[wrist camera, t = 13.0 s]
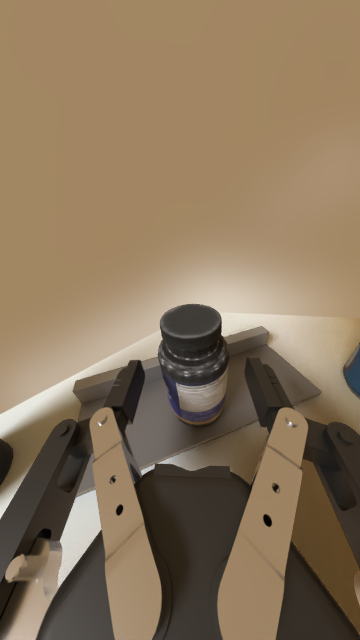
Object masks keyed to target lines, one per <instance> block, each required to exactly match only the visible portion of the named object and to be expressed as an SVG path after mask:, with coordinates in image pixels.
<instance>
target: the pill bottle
mask: <svg viewBox="0 0 360 640" xmlns="http://www.w3.org/2000/svg"><path fill="white" fill-rule="evenodd" d="M221 324H222V320H221V316H220V314H219V313H218V312H217V311H216V310H215V309H213V308H211V307H209V306H205V305H200V304H187V305H181V306H177V307H175V308H173V309H171V310H169V311H167V312H166V313H165V314H164V315H163V316H162V318H161V320H160V329H161V334H162V338H163V340H162V341H161V343H160V346H159V349H158V360H159V363H160V367H161V371H162V375H163V379H164V383H165V387H166V391H167V395H168V399H169V403H170V407H171V409H172V411H173V413H174V414H175V415H176V417H177V418H178V419H179V421H181V422H182V423H184V424H185V425H188V426H191V427H204V426H208V425H210V424H212V423H214V422H215V421H216V420H217V419H218V418H219V417H220V415H221V414H222V412H223V409H224V404H225V395H226V384H227V372H228V361H229V348H228V344H227V342H226V340H225V339H224V337H223V336H222V335H221V328H222V326H221Z"/></svg>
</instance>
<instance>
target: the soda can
mask: <svg viewBox="0 0 360 640" xmlns="http://www.w3.org/2000/svg"><path fill="white" fill-rule="evenodd" d="M343 371H344V376H345V379H346V382H347V384H348V387H349V388H350V390H351V391H352V392H353V393H354V394H355V395H356V396H357V397H358V398H359V399H360V343H359V345H358V346H357V348H356V349H355V351H354V352H353V354H352V355H351V357H350V358H349V360H348V361H347V363H346V364H345V366H344V369H343Z"/></svg>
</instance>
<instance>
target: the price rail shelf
mask: <svg viewBox="0 0 360 640" xmlns="http://www.w3.org/2000/svg"><path fill="white" fill-rule="evenodd" d="M268 334H269V331H268V330H266V329H265V328H264V327H262V326H261V327H257V328H254V329H250V330H247V331H244V332H240V333H237V334H233V335H230V336H227V337H224V339H225V340H226V342H227V344H228V348H229V361H228V372H227V384H226V395H225V404H224V409H223V412H222V414H221V415H220V417H219V418H218V419H217V420H216V421H215V422H214V423H212V424H210V425H208V426H204V427H191V426H188V425H185V424H184V423H182V422H181V421H179V419H178V418H177V417H176V415H175V414H174V413H173V411H172V409H171V407H170V403H169V399H168V395H167V391H166V387H165V383H164V379H163V375H162V371H161V367H160V363H159V360H158V357H155V358H152V359H149V360H145V361H142V362H141V363H142V366H143V369H144V372H145V381H144V385H143V389H142V392H141V396H140V399H139V403H138V407H137V410H136V414H135V417H134V421H133V425H127V427H126V430H125V431H126V434H127V437H128V440H129V443H130V446H131V449H132V452H133V455H134V457H135V460H136V462H137V464H138V466H139V469H140V470H142V469H144V468H147V467H149V466H151V465H154V464H156V463H159V462H161V461H163V460H166V459H168V458H170V457H173V456H175V455H177V454H180V453H182V452H185V451H187V450H189V449H192V448H194V447H196V446H199V445H201V444H204V443H206V442H208V441H211V440H213V439H215V438H218V437H220V436H222V435H225V434H227V433H230V432H232V431H234V430H237V429H239V428H241V427H244V426H246V425H248V424H251V423H253V422H256V421H258V420H259V419H258V416H257V413H256V410H255V407H254V404H253V401H252V398H251V395H250V392H249V389H248V385H247V382H246V379H245V374H244V371H245V365H246V359H247V357H259V358H260V360H261V362H262V364H268V365H269V366H270V367H271V368H272V369H273V370H274V372H275V374H276V376H277V378H278V380H279V382H280V384H281V385H282V387H283V389H284V391H285V393H286V395H287V397H288V399H289V401H290V402H291V404H292V406H293V405H296V404H298V403H301V402H303V401H305V400H308V399H310V398H312V397H315V396H317V395H319V394H320V393H321V391H320V390H319V389H318V388H317V387H315V386H314V385H313V384H312V383H311V382H310V381H308V380H307V379H306V378H305V377H304V376H303V375H301V374H300V373H299V372H298V371H297V370H296V369H294V368H293V367H292V366H291V365H290V364H289V363H287V362H286V361H285V360H284V359H283V358H281V357H280V356H279V355H278V354H277V353H276V352H274V351H273V350H272V349H271V348H270V347H269V346H267V345H266V343H267V338H268ZM125 367H127V366H125ZM125 367H121V368H118V369H115V370H111V371H108V372H104V373H101V374H98V375H94V376H91V377H87V378H84V379H81V380H77V381H76V382H75V386H74V389H73V393H74V394H75V395H76V397H77V398H78V399H79V400H80V402H81V403H82V406H81V410H80V415H79V419H78V422H79V421H82V420H85V419H88V418H91V417H92V416H93V415H94V414H95V413H96V412H97V411H98V410H100V409H102V408H103V406H104V404H105V401H106V399H107V397H108V395H109V393H110V390H111V388H112V386H113V384H114V382H115V380H116V377H117V375H118V373H119V372H120V371H121V370H122V369H123V368H125ZM94 460H95V455H94V453H93V454H91V457H90V459H89V462H88V465H87V468H86V470H85V473H84V476H83V478H82V481H81V484H80V487H79V489H78V492H77V495H76V497H78V496H80V495H83V494H85V493H88V492H90V491H92V490H95V489H96V488H95V481H94V474H93V466H92V465H93V461H94ZM76 497H75V498H76Z"/></svg>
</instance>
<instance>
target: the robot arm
mask: <svg viewBox="0 0 360 640" xmlns="http://www.w3.org/2000/svg"><path fill="white" fill-rule="evenodd" d="M244 374H245V379H246V382H247V385H248V389H249V392H250V395H251V398H252V401H253V404H254V407H255V410H256V413H257V416H258V419H259V422H260V425H261V427H267V429H268V432H269V434H268V437H267V440H266V443H265V446H264V448H263V451H262V454H261V457H260V460H259V462H258V465H257V468H256V470H255V473H254V476H253V479H252V481H251V484H250V485H249V484H248V483H247V482H246V481H245V480H244V479H242V478H241V477H240V476H238V475H236V474H235V473H232V472H230V467H229V466H208V467H205V468H202V469H199V470H196V471H188V470H186V469H183V468H181V467H178V466H176V465H173V464H155V468H154V469H153V470H151V471H149V472H147V473H145V474H144V475H143V476H142V474H141V471H140V469H139V466H138V464H137V462H136V460H135V457H134V455H133V452H132V449H131V446H130V443H129V440H128V437H127V434H126V431H125V430H126V427H127V425H133V421H134V417H135V414H136V410H137V407H138V403H139V399H140V396H141V392H142V389H143V385H144V381H145V372H144V369H143V366H142V363H141V361H140V360H130V361H129V363H128V366H127V367H125V368H123V369H122V370H121V371H120V372H119V373H118V375H117V377H116V380H115V382H114V384H113V386H112V388H111V390H110V393H109V395H108V397H107V399H106V401H105V404H104V406H103V408H102V409H100V410H98V411H97V412H96V413H95V414H94V415H93V416H92V417H91V418H88V419H85V420H82V421H79V422H75V421H74V420H73V419H67V420H64V421H62V422H61V423H59V424H58V425H57V426H56V427H55V428H54V429H53V431H52V432H51V434H50V436H49V438H48V439H47V441H46V443H45V444H44V446H43V448H42V449H41V451H40V453H39V455H38V456H37V458H36V460H35V461H34V463H33V465H32V466H31V468H30V470H29V472H28V473H27V475H26V477H25V478H24V480H23V482H22V483H21V485H20V487H19V489H18V490H17V492H16V494H15V495H14V497H13V499H12V500H11V502H10V504H9V506H8V507H7V509H6V511H5V512H4V514H3V516H2V518H1V519H0V640H360V631H359V633H358V632H357V630H356V629H355V627H354V626H353V624H352V623H351V621H350V620H349V619H348V617H347V616H346V615H345V613H344V612H343V610H342V609H341V608H340V606H339V605H338V604H337V602H336V601H335V600H334V598H333V597H332V595H331V594H330V593H329V591H328V590H327V589H326V587H325V586H324V585H323V583H322V582H321V580H320V579H319V578H318V576H317V575H316V574H315V572H314V571H313V570H312V568H311V567H310V565H309V564H308V563H307V561H306V560H305V559H304V557H303V556H302V555H301V553H300V552H299V551H298V549H297V548H296V546H295V545H294V544H293V542H292V541H291V535H292V530H293V524H294V519H295V513H296V508H297V502H298V497H299V491H300V486H301V480H302V469H301V463H302V458H303V459H306V460H308V461H311V462H313V463H314V466H315V468H316V470H317V472H318V475H319V477H320V479H321V481H322V484H323V486H324V488H325V491H326V493H327V495H328V497H329V500H330V502H331V504H332V506H333V509H334V511H335V513H336V516H337V518H338V520H339V522H340V525H341V527H342V529H343V531H344V534H345V536H346V538H347V541H348V543H349V545H350V547H351V550H352V552H353V554H354V556H355V559H356V561H357V563H358V566H359V568H360V435H359V434H358V433H357V432H356V431H354V430H353V429H352V428H350V427H349V426H347V425H345V424H342V423H339V422H331V423H329V424H328V425H324V424H321V423H318V422H314V421H311V420H308V419H306V418H305V417H303V416H302V415H301V414H300V413H299V412H298V411H296V410H295V409H294V408H293V406H292V404H291V402H290V401H289V399H288V397H287V395H286V393H285V391H284V389H283V387H282V385H281V384H280V382H279V380H278V378H277V376H276V374H275V372H274V370H273V369H272V368H271V367H270V366H269V365H268V364H262V362H261V360H260V358H259V357H247V359H246V365H245V371H244ZM93 453H94V455H95V460H94V461H93V465H92V466H93V474H94V481H95V488H96V494H97V501H98V508H99V514H100V521H101V528H102V529H101V531H100V532H99V533H98V535H97V536H96V538H95V539H94V540H93V542H92V543H91V544H90V546H89V547H88V549H87V550H86V551H85V553H84V554H83V555H82V557H81V558H80V560H79V561H78V562H77V564H76V565H75V566H74V568H73V569H72V571H71V572H70V573H69V575H68V576H67V577H66V579H65V580H64V582H63V583H62V584H61V586H60V587H59V589H58V572H59V569H60V566H61V560H62V546H61V543H60V542H59V541H60V538H61V536H62V533H63V530H64V527H65V525H66V522H67V519H68V517H69V514H70V511H71V508H72V506H73V503H74V500H75V497H76V495H77V492H78V489H79V487H80V484H81V481H82V478H83V476H84V473H85V470H86V468H87V465H88V462H89V459H90V457H91V454H93ZM354 588H355V593H356V596H357V599H358V603H359V606H360V570H358V571H357V572H356V574H355V576H354Z"/></svg>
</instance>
